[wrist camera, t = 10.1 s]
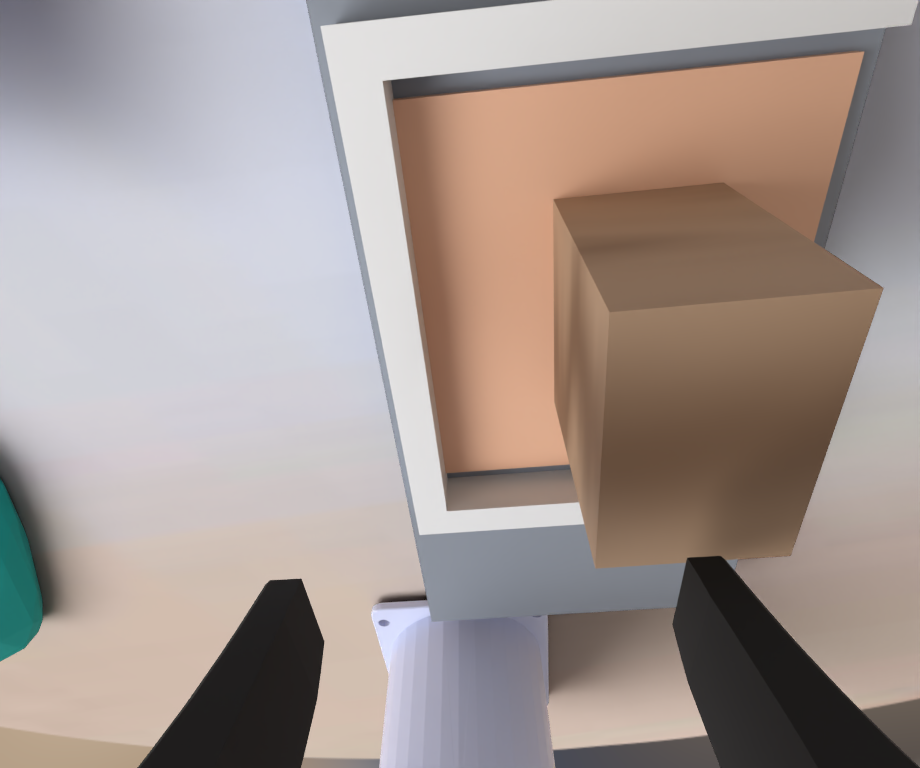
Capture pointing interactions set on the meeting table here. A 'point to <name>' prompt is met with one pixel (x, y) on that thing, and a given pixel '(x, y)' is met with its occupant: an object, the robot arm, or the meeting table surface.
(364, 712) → the meeting table surface
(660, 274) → the brown rectangular block
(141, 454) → the meeting table surface
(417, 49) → the frame
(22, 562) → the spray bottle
